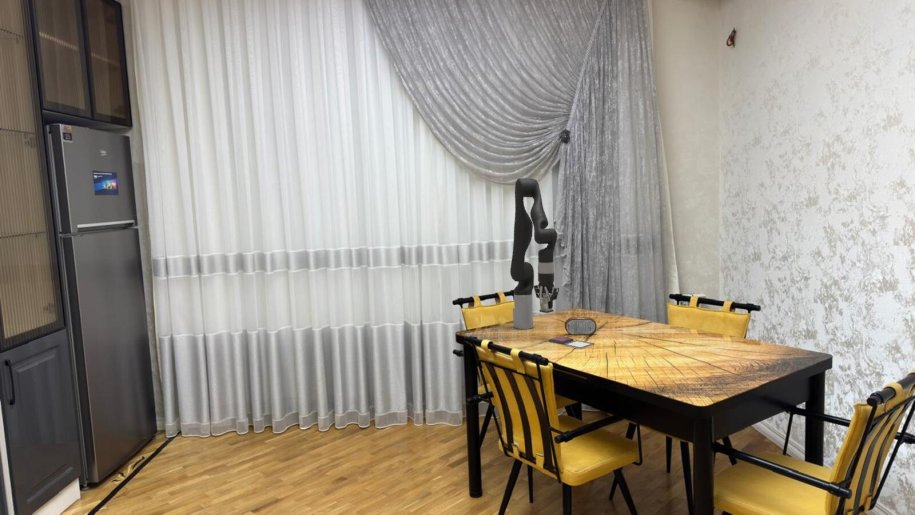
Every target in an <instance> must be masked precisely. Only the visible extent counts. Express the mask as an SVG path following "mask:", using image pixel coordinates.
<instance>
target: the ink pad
mask: <svg viewBox="0 0 915 515" xmlns="http://www.w3.org/2000/svg"><path fill="white" fill-rule="evenodd" d="M572 341H575V340H574V338H572V337H567V336H562V335H558V336H555V337H552V338H550V339H548V342H549V343H553V344H558V345H563V344H565V343H568V342H572Z"/></svg>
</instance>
